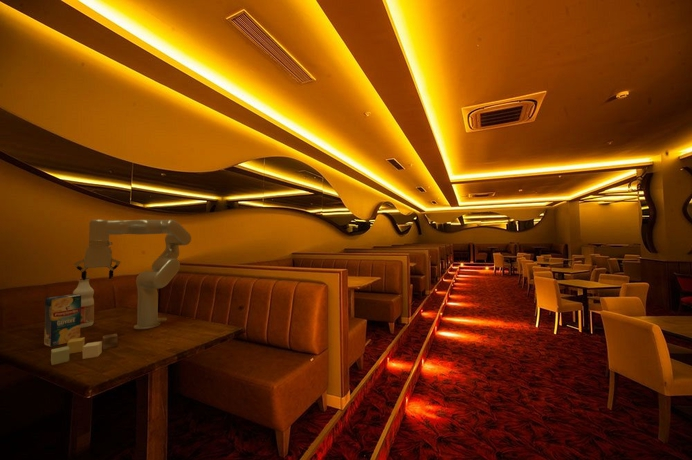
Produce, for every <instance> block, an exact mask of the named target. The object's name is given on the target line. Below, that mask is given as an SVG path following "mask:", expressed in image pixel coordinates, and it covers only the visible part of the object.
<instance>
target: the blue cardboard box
mask: <svg viewBox="0 0 692 460" xmlns="http://www.w3.org/2000/svg"><path fill="white" fill-rule="evenodd" d="M44 299H45V300H44V301H45V305H44V333H43V336H44V337H43V341H44V342H43V345H45V346H47V347H55V346H60V345H62V344H63V345H64V344H67V342H68V341H69V340H70V339H76V338H81V328H80V327H81V295H76V294H73V293H72V294H67V295H66V294H65V295H58V296H52V297H46V298H44Z"/></svg>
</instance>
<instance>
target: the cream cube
mask: <svg viewBox="0 0 692 460" xmlns="http://www.w3.org/2000/svg"><path fill="white" fill-rule="evenodd" d="M102 350H103V340H101V341H93V342H87V343H85V346H84V347H83V351H82V360H84V359H85V360H86V359H91V358H98V357H99V356H100V355H101V354H102V352H103V351H102Z"/></svg>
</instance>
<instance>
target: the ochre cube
mask: <svg viewBox="0 0 692 460" xmlns="http://www.w3.org/2000/svg"><path fill="white" fill-rule="evenodd" d="M85 345H86V337H80V338H76V339H70V340H69V341H68V342H67V343H66V346H68V347H69V349H70V352H69V355H71V354H75V353H83V347H84V346H85Z"/></svg>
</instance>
